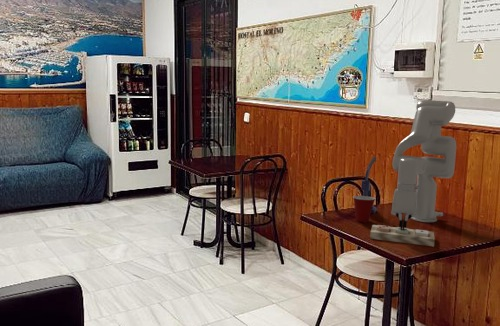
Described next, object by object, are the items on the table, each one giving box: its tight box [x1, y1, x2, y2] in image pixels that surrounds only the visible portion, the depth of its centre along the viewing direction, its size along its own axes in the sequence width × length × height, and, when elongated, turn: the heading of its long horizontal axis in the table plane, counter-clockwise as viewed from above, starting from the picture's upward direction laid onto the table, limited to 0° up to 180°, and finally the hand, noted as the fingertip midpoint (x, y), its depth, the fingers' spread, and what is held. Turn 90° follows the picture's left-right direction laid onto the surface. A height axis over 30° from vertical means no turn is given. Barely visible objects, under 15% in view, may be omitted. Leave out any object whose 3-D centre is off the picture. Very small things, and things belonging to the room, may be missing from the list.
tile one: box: [415, 229, 429, 237], centre depth 217 cm, size 5×5×4 cm
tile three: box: [377, 224, 391, 232], centre depth 221 cm, size 5×5×4 cm
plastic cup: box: [352, 195, 376, 223], centre depth 245 cm, size 11×11×12 cm
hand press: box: [360, 156, 378, 214], centre depth 264 cm, size 19×9×28 cm, turn 154°
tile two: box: [396, 226, 410, 234], centre depth 219 cm, size 5×5×4 cm
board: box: [369, 224, 436, 247], centre depth 219 cm, size 26×12×3 cm, turn 72°
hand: (402, 228), depth 218 cm, fingers closed
